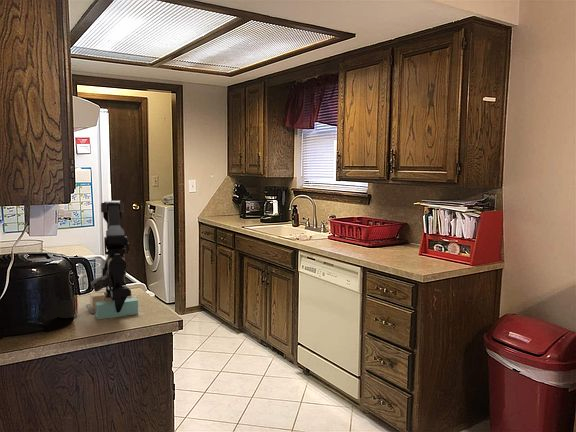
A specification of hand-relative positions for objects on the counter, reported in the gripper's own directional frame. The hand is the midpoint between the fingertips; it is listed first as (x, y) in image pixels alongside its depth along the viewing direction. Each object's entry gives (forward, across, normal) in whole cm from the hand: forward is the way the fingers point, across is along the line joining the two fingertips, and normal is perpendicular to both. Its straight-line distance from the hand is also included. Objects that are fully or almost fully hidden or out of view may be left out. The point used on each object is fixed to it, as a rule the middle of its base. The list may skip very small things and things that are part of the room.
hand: (117, 310), depth 176 cm
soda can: (+2, -6, -16) cm, 17 cm away
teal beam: (+2, 0, 0) cm, 2 cm away
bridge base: (+2, -11, 0) cm, 11 cm away
